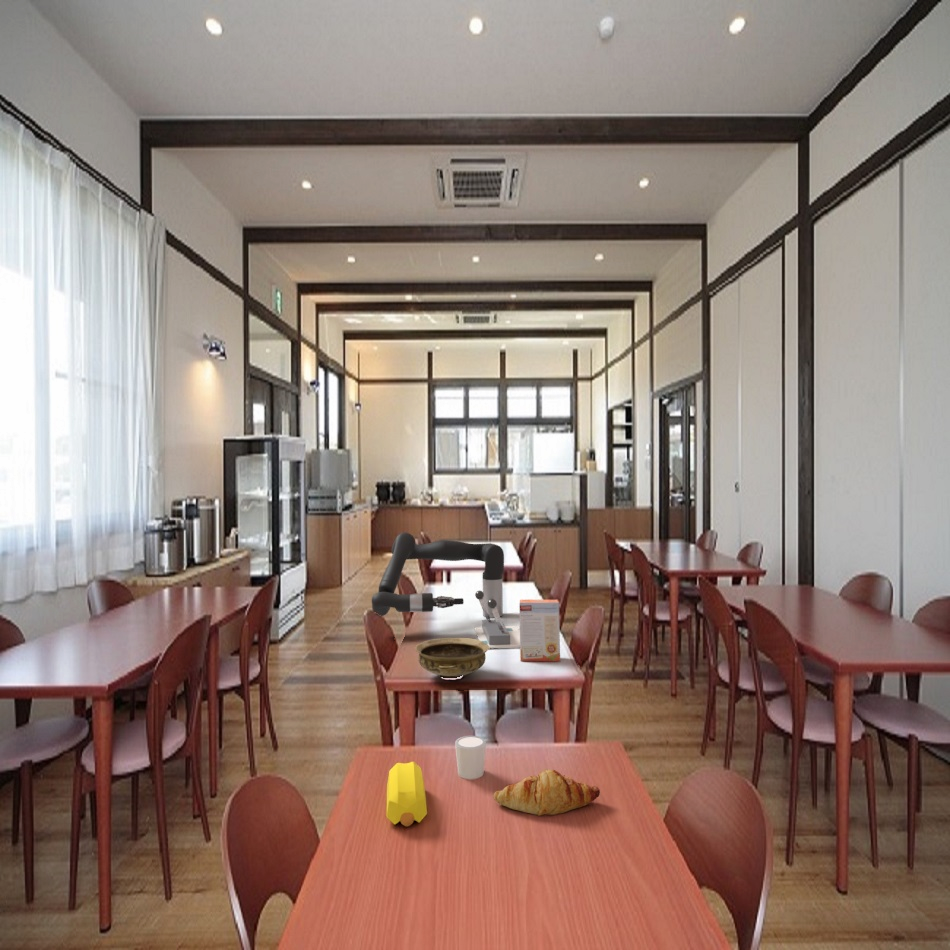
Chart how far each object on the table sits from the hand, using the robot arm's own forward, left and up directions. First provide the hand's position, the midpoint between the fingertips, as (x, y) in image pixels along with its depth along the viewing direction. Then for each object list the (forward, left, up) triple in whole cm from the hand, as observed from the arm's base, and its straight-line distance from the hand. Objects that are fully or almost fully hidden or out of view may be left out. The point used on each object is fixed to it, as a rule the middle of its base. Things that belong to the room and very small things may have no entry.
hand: (463, 601), depth 259 cm
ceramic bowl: (+54, -8, -14) cm, 56 cm away
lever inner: (0, +11, -8) cm, 13 cm away
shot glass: (+120, -8, -14) cm, 121 cm away
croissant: (+135, +6, -14) cm, 135 cm away
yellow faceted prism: (+132, -22, -14) cm, 135 cm away
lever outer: (+18, +14, -8) cm, 24 cm away
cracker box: (+39, +24, -14) cm, 48 cm away
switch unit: (+9, +14, -14) cm, 21 cm away
